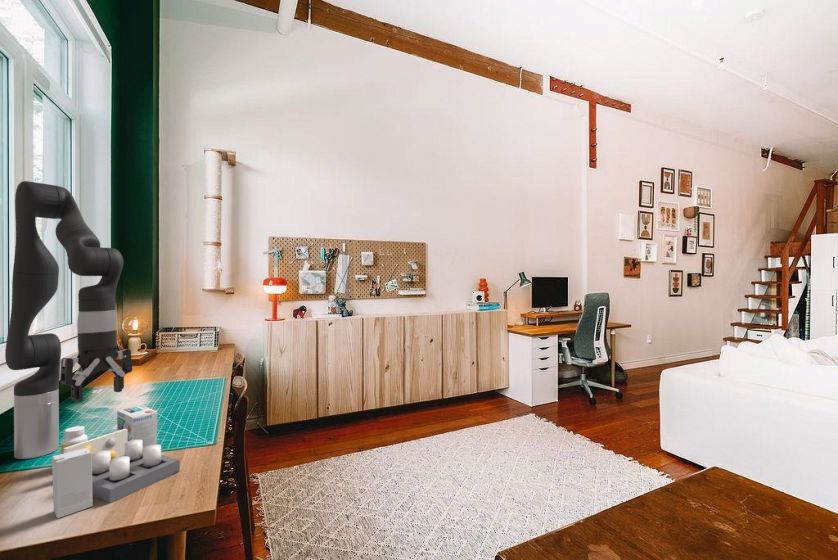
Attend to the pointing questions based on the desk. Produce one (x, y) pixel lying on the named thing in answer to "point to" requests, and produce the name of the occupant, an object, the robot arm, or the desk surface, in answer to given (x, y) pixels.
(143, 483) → the button board
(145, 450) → the button
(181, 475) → the desk surface
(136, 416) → the light bulb box
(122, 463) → the button
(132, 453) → the button
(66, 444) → the supplement bottle
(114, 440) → the plaque
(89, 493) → the skincare box
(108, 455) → the button
